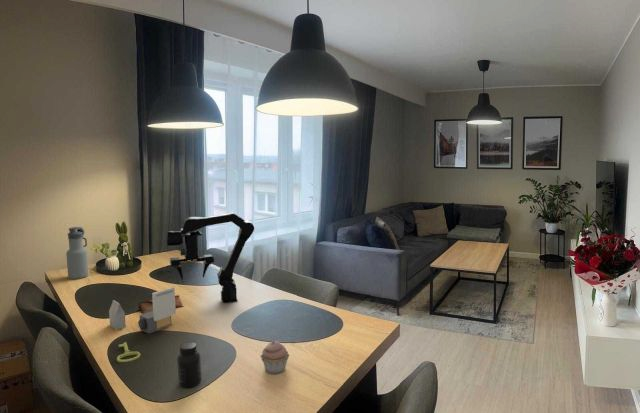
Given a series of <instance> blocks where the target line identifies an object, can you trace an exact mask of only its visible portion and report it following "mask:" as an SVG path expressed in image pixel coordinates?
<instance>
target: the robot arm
mask: <svg viewBox="0 0 640 413" xmlns="http://www.w3.org/2000/svg"><path fill="white" fill-rule="evenodd" d="M225 223H226V224H227V223H232V224H234V225H235V226H237V227H238V228H239V230H238V235H237V239H236V241H235V242H234V243H235V244H234V246H233V247H232V250H231V252H230V255H229V257H228V259H227V262H226V263H225V265H224V267H223V266H220V268H219V271H218V272H217V273H216V274H217V279H218V280H217V281H218V285H219V286H220V287H221V290H220V300H221V301H222V303H224V304H227V303H234V302H239V301H238V296H237V284H236V282H235V279H234V278H233V276H234V275H233V274H234V270H235V267H236V265H237V262H238V260H239V258H240V256H241V253H242V252H243V249H244V247H245V245H246V242H247V241H248V239H250V238H251V236H252V234H253V232H255V226H254V224H253V223H252V222H251V221H250V220H247V219H243V218H242V217H240V216H239V215H238V214H236V213H235V212H227V213H223V214H216V215H211V216H204V217H202V216H189V217H186V218H185V220H184V222H183V226H182V228H180V230H178V231H177V230H173V231H172V230H169V231H167V232H166V233H167V239H166V243H167V247H168V248H169V247H170V248H171V247H181V245H182V244H184V248H183V247H182V248H180V249H179V251H180V252H179V253H180V256H183V257H184V258H180V256H177V257H176V256H175V257H171V258H170V259H169V265H170V267H171V268H173V269H176V270H177V271H178V274H179V276H180V280H181V281H183V280H184V279H183V276H184V275H183V270H182V266H181V264H188V263H190V264H191V263H197V262H198V263H199V262H202V273H201V274H202V275H201V276H202V278H203V279H204V277H205V275H206V272H207V270H208V267H209V266H211V265H212V263H215V257H214V256H213V254H203V255H202V256H201V257H200V256H199V255H200V254H199V236H202V235H203V232H201V231H200V229H202V228H205V227H209V226H214V225H221V224H225Z"/></svg>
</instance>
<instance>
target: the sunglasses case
mask: <svg viewBox="0 0 640 413" xmlns="http://www.w3.org/2000/svg"><path fill="white" fill-rule="evenodd" d="M183 307H185V306H184V305H183V303H182V301H181V298H180V295H176V294H175V309H178V308H183ZM138 309H139V311H140V312H141V314H144V313H147V312H150V311H153V300H144V301H141V302H139V304H138Z"/></svg>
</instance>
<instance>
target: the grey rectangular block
mask: <svg viewBox="0 0 640 413" xmlns="http://www.w3.org/2000/svg"><path fill="white" fill-rule="evenodd" d="M137 325H138V328H139V329H140V331H142V332H145V333H147V334H151V333H155V332H158V331H160V330H162V329H165V328H168V327H170V326H172V325H173V323H172V315H171V316H169V317H166V318H163V319H160V320H158V321H154V319H153V311H150V312H147V313H144V314H143V313H141V314H139V320H138V324H137Z"/></svg>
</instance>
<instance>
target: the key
mask: <svg viewBox="0 0 640 413" xmlns="http://www.w3.org/2000/svg"><path fill="white" fill-rule="evenodd" d="M127 343H128V342H123V343H121V344H120V343H119V344H118V348H123V349H124V352H123V353H121V354H119V355H117V357H116V361H117V362H118V363H127V362H132V361H135V360H138V359H139V358H140V357H141V353H140V351H137V350H136V351H135V350H134V351H131V350H130V349H129V346H128V344H127ZM129 356H134V357H132V358H127V359H122V358H125V357H129Z"/></svg>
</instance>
